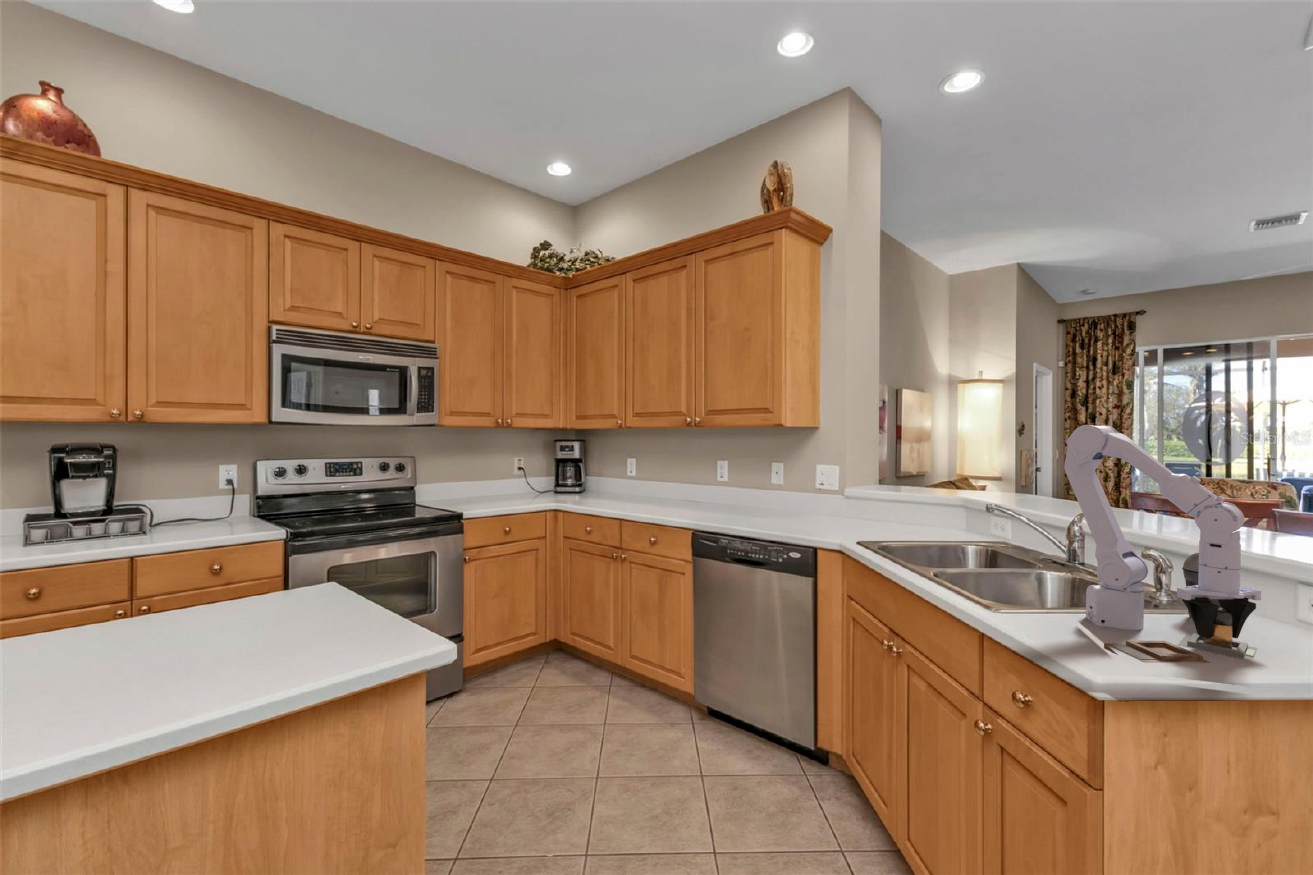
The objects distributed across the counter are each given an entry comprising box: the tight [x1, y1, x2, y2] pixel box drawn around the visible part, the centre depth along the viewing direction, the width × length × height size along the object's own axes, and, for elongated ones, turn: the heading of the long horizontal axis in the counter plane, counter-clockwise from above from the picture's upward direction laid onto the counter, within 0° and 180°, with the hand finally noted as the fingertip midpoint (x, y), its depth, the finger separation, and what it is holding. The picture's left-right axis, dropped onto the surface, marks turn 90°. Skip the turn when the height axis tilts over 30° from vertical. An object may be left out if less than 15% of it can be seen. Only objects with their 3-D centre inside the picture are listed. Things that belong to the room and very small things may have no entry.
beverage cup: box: [1182, 552, 1220, 620], centre depth 126 cm, size 7×7×20 cm
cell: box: [1203, 607, 1233, 649], centre depth 110 cm, size 4×4×8 cm
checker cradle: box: [1177, 632, 1258, 662], centre depth 110 cm, size 10×10×2 cm
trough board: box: [1103, 640, 1211, 663], centre depth 107 cm, size 12×9×2 cm
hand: (1217, 636), depth 110 cm, fingers open, 5 cm apart
